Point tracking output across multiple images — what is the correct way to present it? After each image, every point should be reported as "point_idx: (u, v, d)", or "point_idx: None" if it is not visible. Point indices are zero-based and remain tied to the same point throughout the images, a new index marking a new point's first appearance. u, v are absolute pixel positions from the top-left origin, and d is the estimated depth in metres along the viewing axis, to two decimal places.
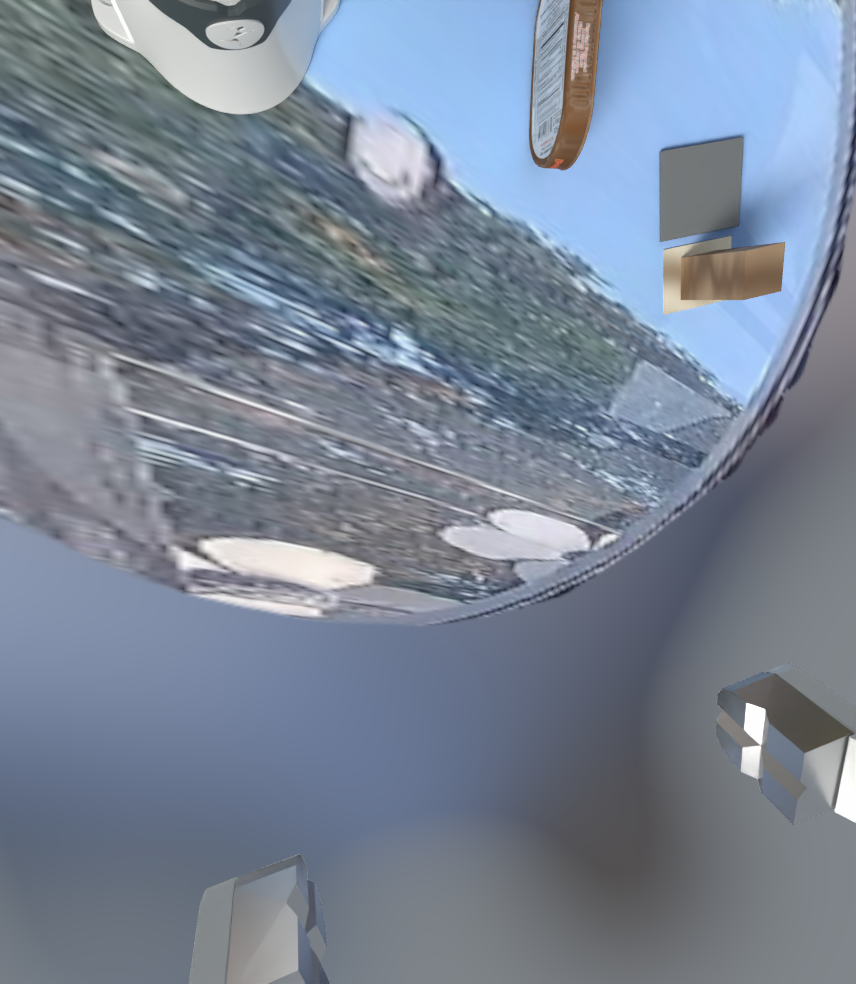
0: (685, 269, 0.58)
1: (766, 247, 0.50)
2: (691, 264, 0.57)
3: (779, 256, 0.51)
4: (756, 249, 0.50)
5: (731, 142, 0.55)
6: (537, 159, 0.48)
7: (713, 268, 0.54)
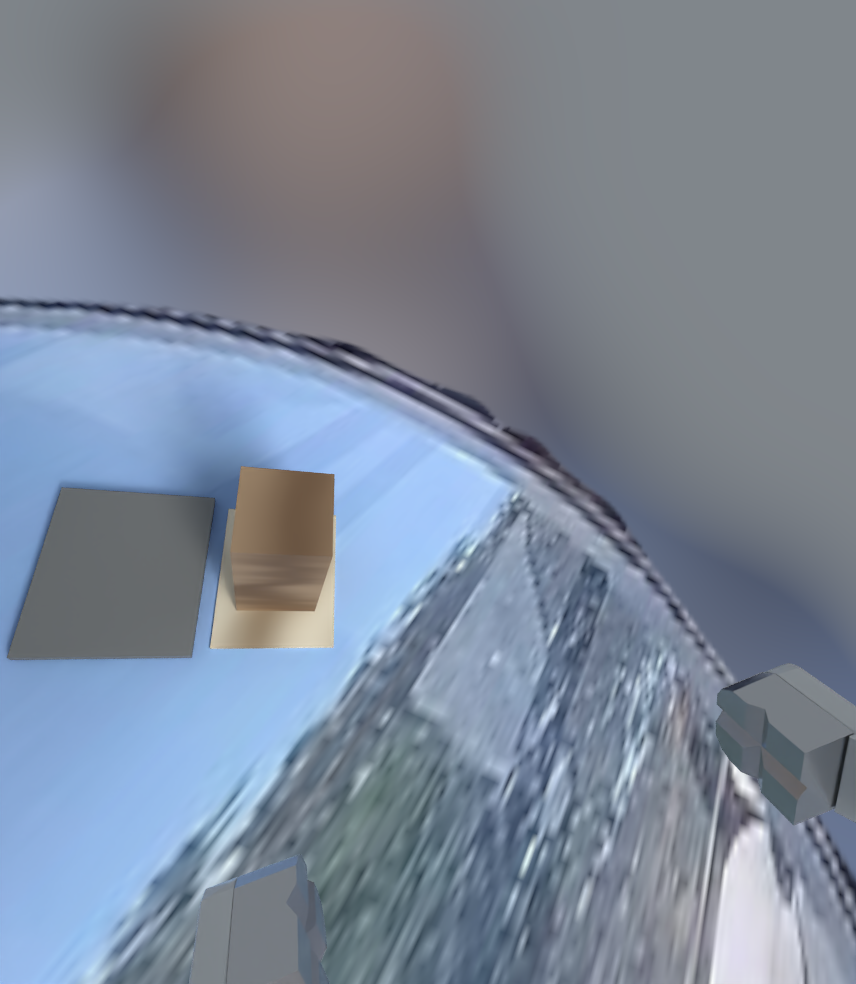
0: (258, 606, 0.30)
1: (238, 506, 0.24)
2: (249, 602, 0.29)
3: (266, 477, 0.25)
4: (235, 528, 0.24)
5: (60, 510, 0.30)
6: None
7: (261, 583, 0.27)
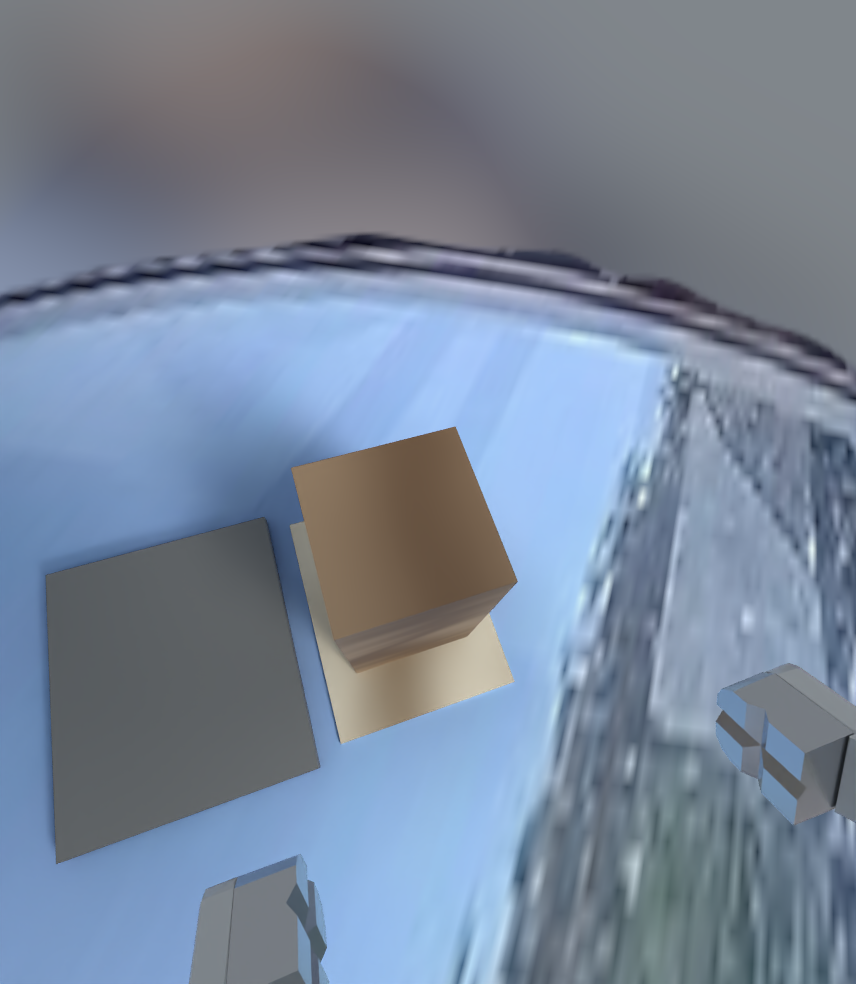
0: (388, 660, 0.19)
1: (314, 544, 0.13)
2: (375, 662, 0.19)
3: (342, 473, 0.13)
4: (325, 589, 0.12)
5: (55, 609, 0.20)
6: None
7: (391, 645, 0.16)
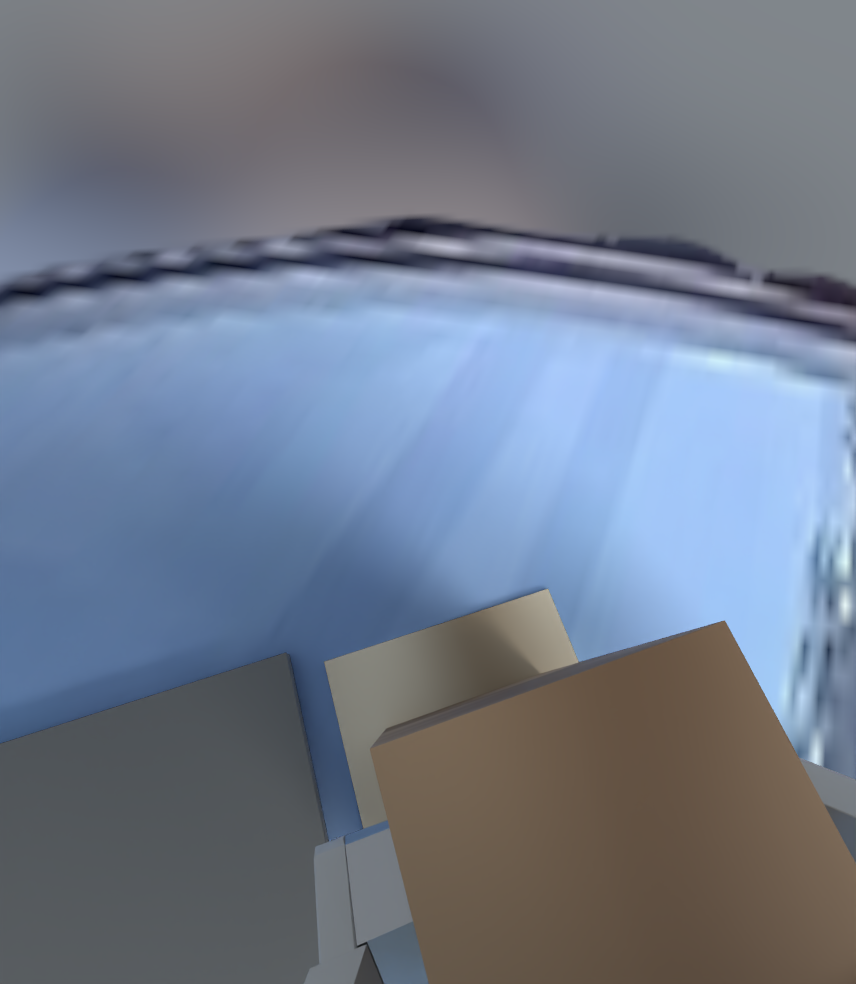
0: None
1: None
2: None
3: (490, 760, 0.06)
4: None
5: None
6: None
7: None
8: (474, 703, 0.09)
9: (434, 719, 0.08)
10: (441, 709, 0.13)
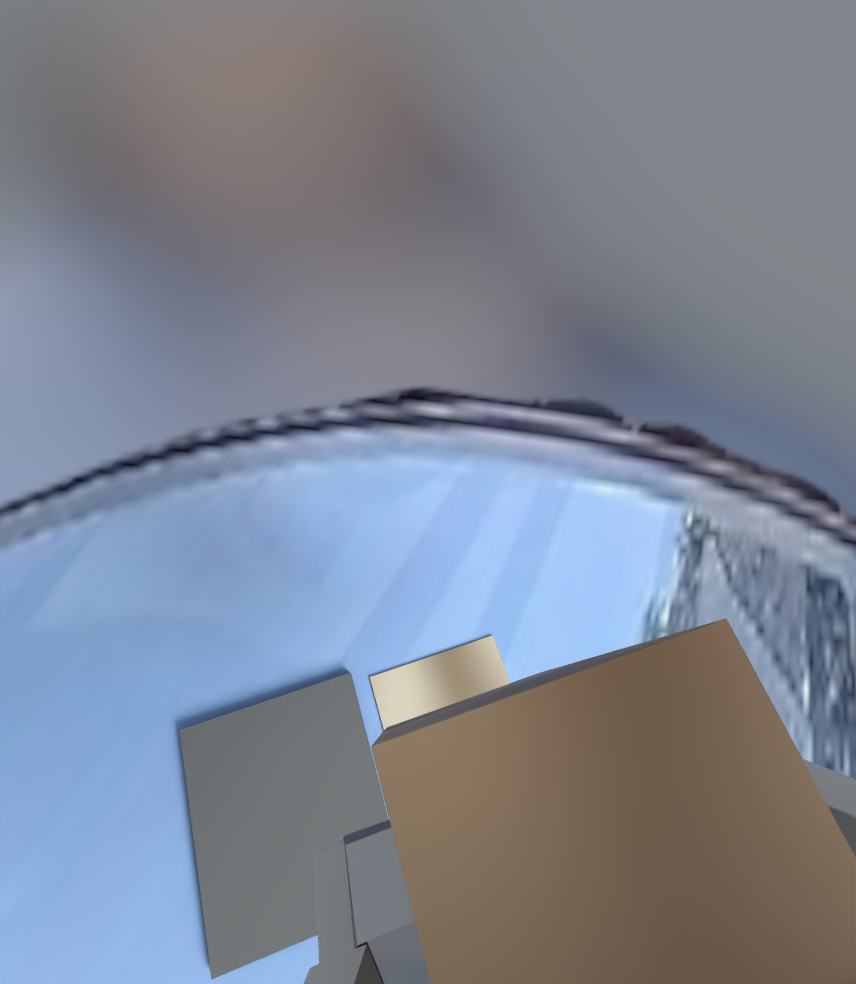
0: None
1: None
2: None
3: (492, 757, 0.06)
4: None
5: (190, 761, 0.24)
6: None
7: None
8: (475, 702, 0.08)
9: (435, 717, 0.08)
10: (442, 708, 0.13)
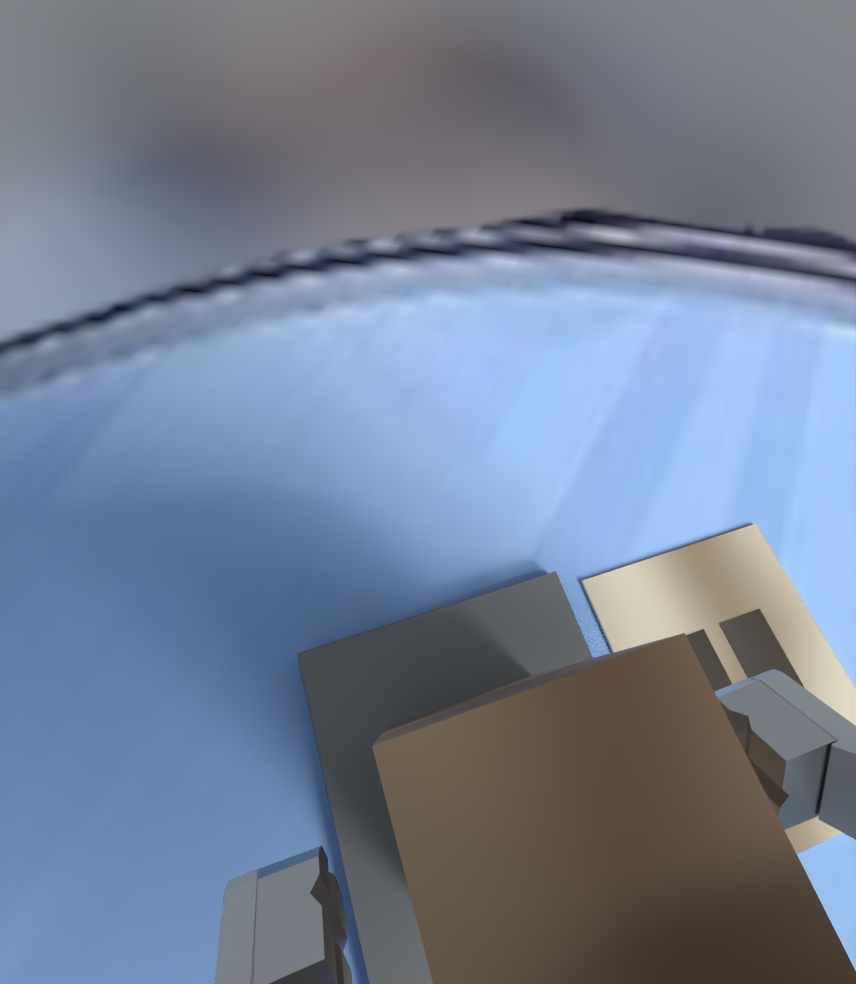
0: None
1: (436, 955, 0.06)
2: None
3: (477, 755, 0.06)
4: None
5: (319, 702, 0.15)
6: None
7: None
8: (466, 705, 0.09)
9: (429, 720, 0.08)
10: (437, 709, 0.14)
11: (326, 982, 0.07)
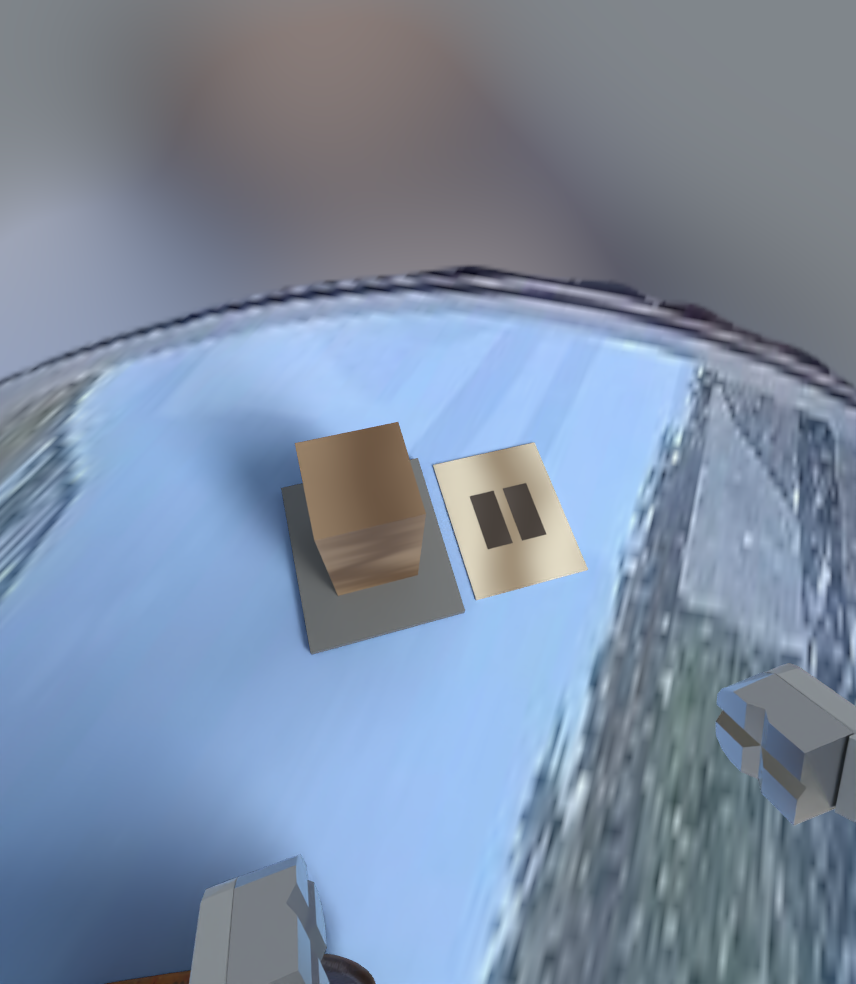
0: (359, 586, 0.28)
1: (306, 487, 0.21)
2: (349, 584, 0.27)
3: (325, 447, 0.22)
4: (311, 513, 0.21)
5: (290, 509, 0.30)
6: None
7: (356, 563, 0.24)
8: None
9: None
10: None
11: None
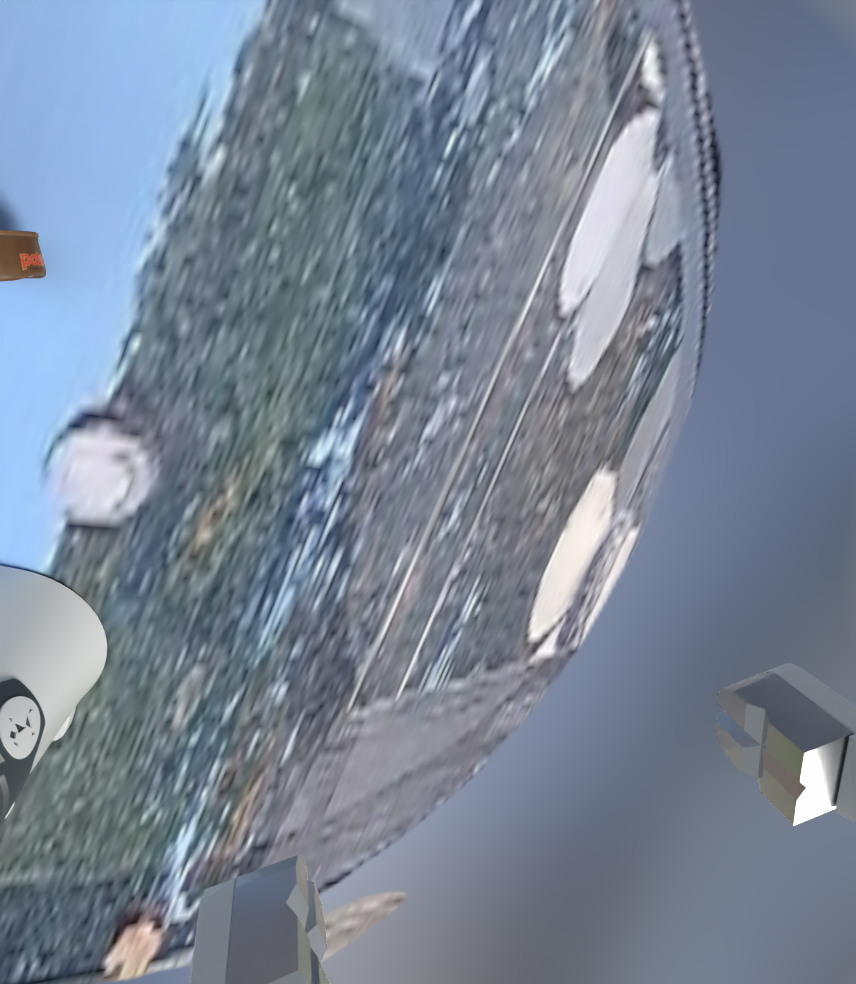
0: None
1: None
2: None
3: None
4: None
5: None
6: (36, 277, 0.31)
7: None
8: None
9: None
10: None
11: None
